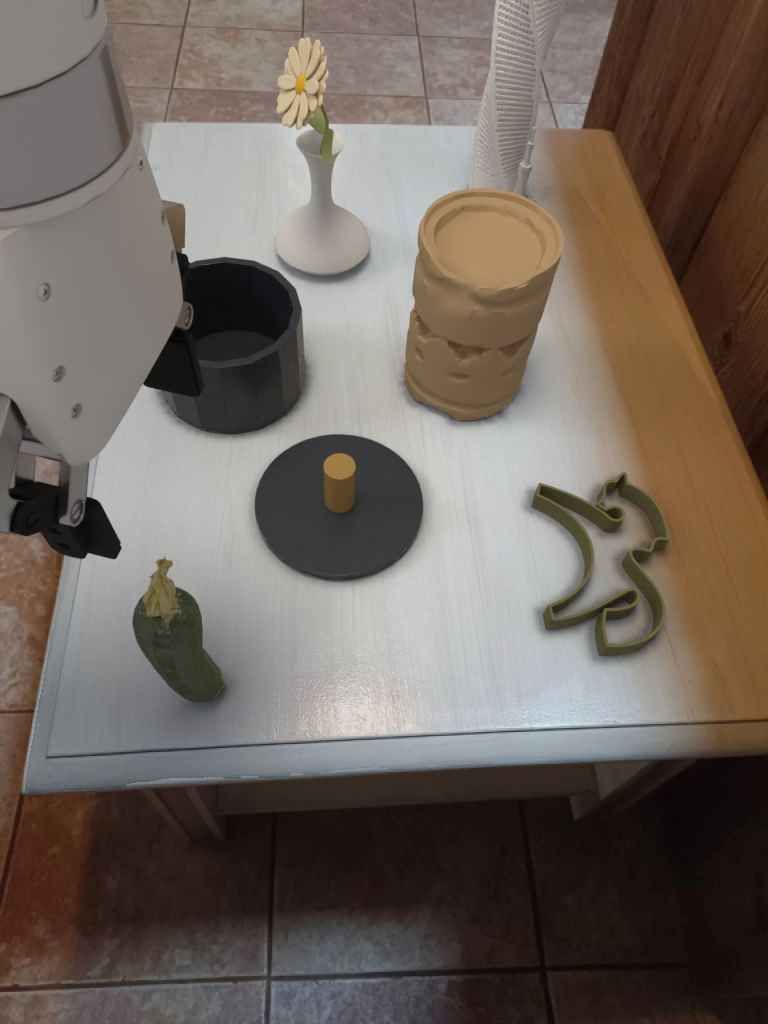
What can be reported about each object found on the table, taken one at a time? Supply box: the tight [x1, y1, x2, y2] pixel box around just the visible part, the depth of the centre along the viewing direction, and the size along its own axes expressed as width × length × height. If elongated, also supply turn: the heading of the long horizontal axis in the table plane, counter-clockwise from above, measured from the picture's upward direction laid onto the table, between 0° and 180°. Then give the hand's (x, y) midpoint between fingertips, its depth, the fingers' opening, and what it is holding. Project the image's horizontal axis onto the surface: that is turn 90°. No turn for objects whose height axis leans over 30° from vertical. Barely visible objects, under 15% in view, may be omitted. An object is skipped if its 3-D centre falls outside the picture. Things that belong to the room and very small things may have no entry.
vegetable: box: [131, 556, 227, 704], centre depth 50 cm, size 4×4×20 cm
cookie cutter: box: [530, 471, 670, 657], centre depth 65 cm, size 18×12×2 cm, turn 178°
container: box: [404, 188, 565, 422], centre depth 70 cm, size 13×13×18 cm
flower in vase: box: [273, 36, 371, 276], centre depth 76 cm, size 13×11×25 cm
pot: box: [161, 256, 306, 435], centre depth 72 cm, size 15×15×10 cm
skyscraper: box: [468, 0, 567, 197], centre depth 82 cm, size 8×8×28 cm
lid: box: [254, 433, 424, 579], centre depth 65 cm, size 16×16×7 cm
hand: (133, 461), depth 35 cm, fingers open, 9 cm apart
